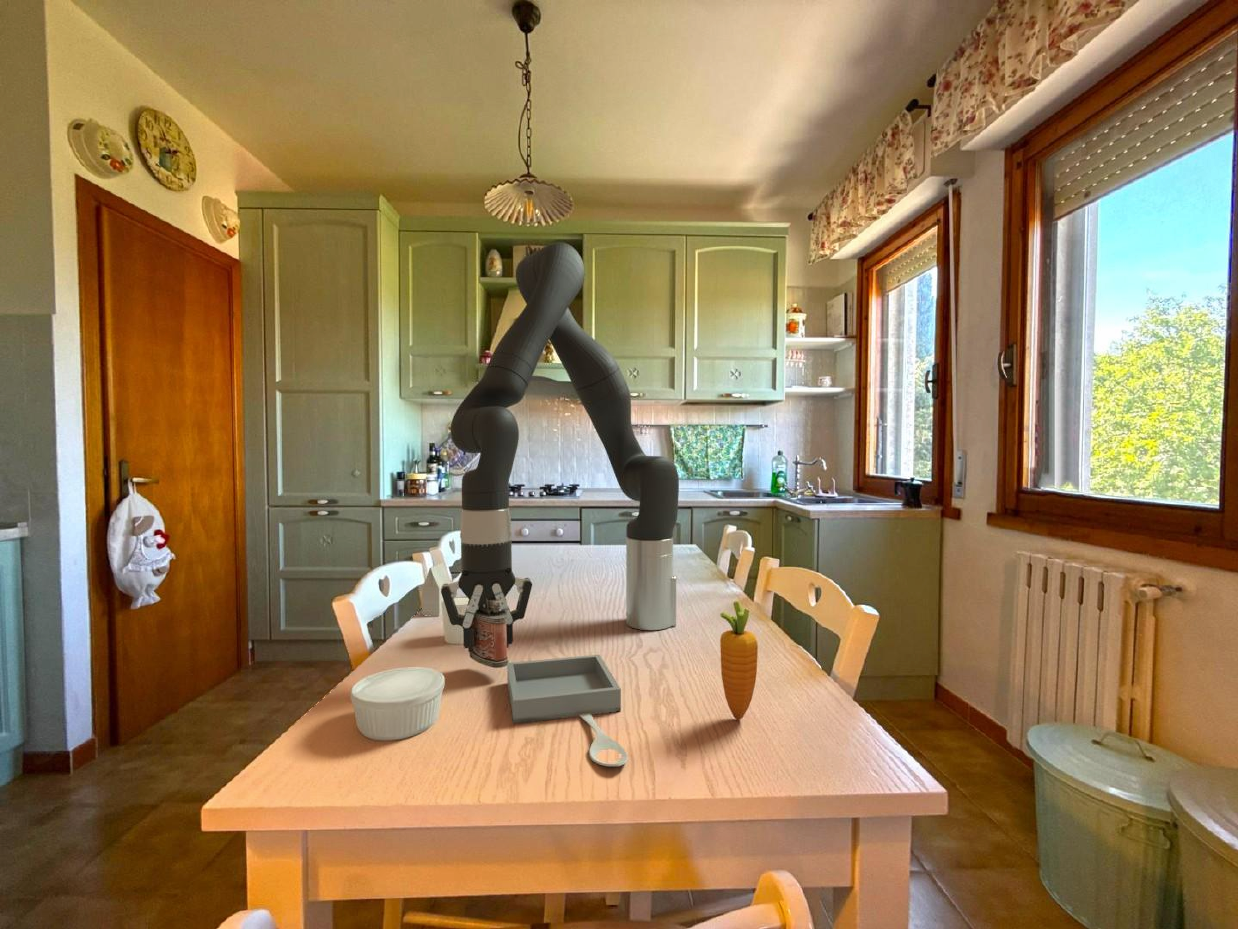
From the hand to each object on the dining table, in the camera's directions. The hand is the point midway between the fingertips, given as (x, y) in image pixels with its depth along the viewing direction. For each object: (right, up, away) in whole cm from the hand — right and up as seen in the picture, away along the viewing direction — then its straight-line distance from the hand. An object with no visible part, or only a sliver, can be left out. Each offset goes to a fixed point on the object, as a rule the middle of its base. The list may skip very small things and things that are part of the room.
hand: (488, 647), depth 88 cm
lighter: (0, -2, 0) cm, 2 cm away
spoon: (+17, -5, -17) cm, 24 cm away
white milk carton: (-19, -3, +34) cm, 39 cm away
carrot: (+35, -5, -14) cm, 39 cm away
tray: (+12, -4, -8) cm, 15 cm away
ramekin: (-8, -5, -15) cm, 18 cm away
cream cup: (-9, -4, +17) cm, 19 cm away
